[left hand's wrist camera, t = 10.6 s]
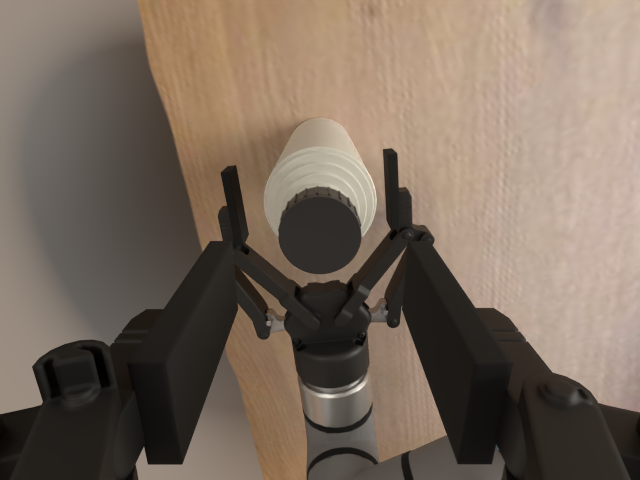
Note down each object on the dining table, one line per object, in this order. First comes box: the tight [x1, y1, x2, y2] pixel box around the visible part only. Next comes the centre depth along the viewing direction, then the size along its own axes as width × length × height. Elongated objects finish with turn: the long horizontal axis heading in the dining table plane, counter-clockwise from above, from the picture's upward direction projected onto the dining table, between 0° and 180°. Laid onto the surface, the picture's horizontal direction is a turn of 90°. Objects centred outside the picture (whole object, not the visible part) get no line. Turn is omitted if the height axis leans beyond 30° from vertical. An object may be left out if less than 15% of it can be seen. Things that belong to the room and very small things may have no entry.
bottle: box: [264, 118, 376, 238], centre depth 29 cm, size 6×6×24 cm
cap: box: [278, 186, 362, 274], centre depth 19 cm, size 4×4×2 cm
